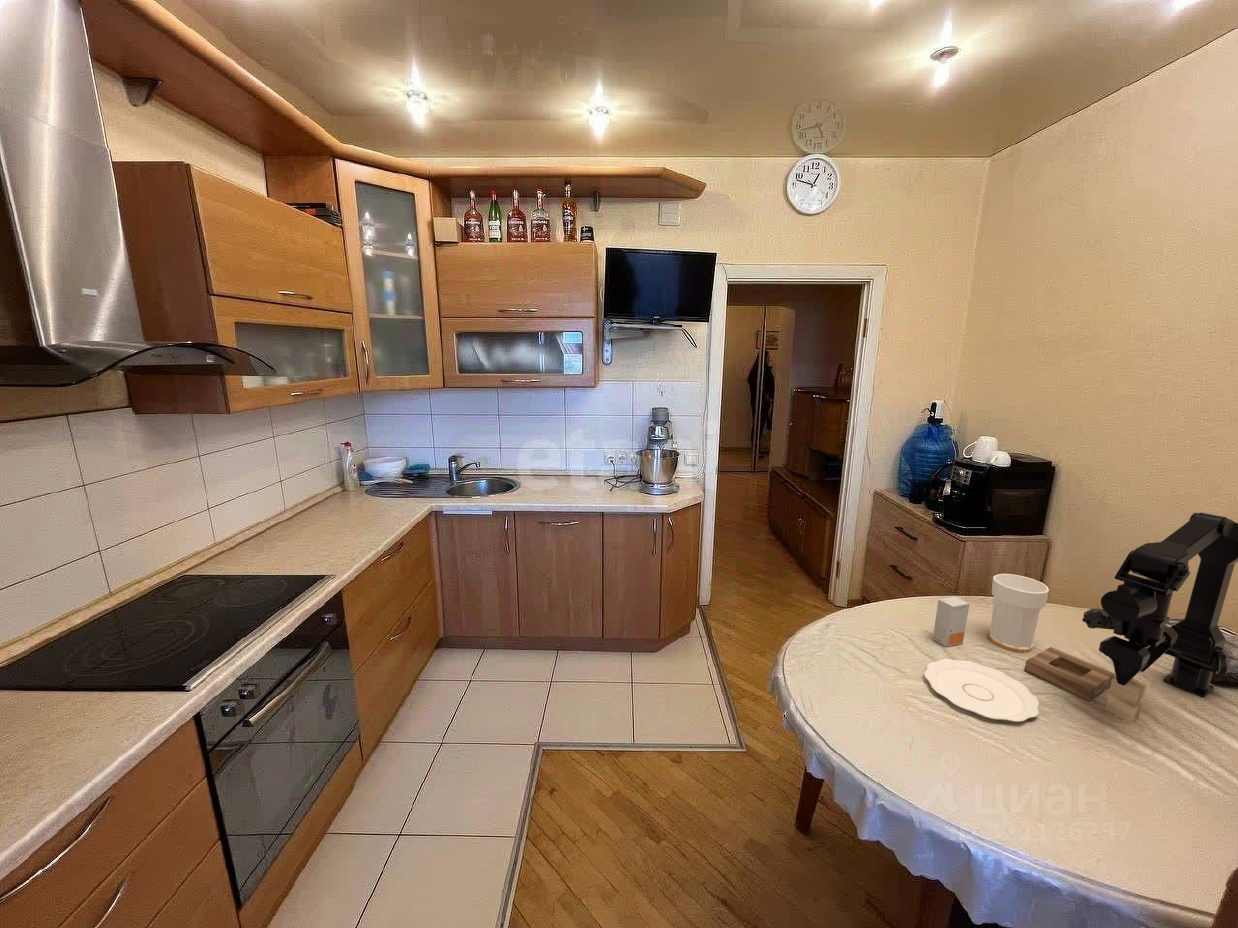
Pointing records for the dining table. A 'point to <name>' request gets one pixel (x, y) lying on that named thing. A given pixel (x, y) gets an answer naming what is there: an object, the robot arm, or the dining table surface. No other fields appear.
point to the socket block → (1069, 673)
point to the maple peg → (1125, 699)
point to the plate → (982, 690)
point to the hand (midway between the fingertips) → (1130, 677)
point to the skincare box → (950, 621)
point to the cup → (1016, 611)
